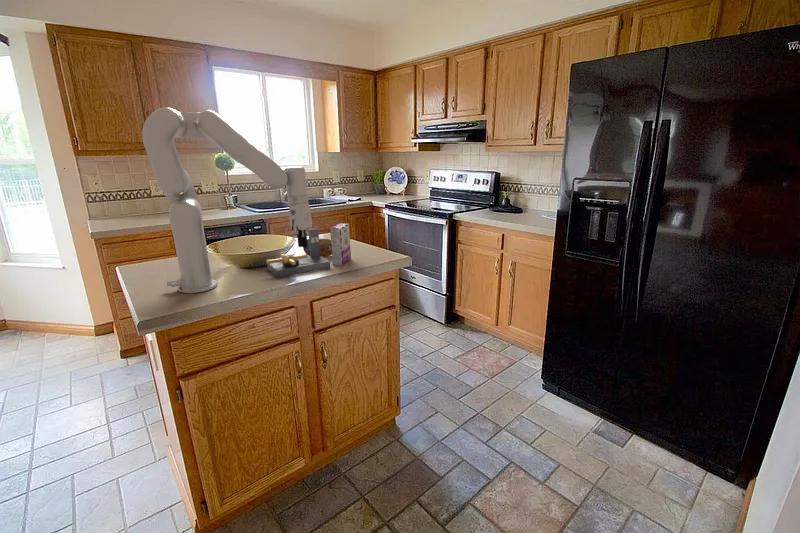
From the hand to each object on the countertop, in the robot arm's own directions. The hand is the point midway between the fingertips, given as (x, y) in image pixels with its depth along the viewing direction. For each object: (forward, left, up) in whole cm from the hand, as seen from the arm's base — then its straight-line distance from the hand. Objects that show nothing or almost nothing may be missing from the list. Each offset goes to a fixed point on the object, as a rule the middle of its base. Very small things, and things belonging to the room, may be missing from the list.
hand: (303, 246), depth 149 cm
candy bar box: (+19, +6, -11) cm, 23 cm away
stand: (0, +7, -11) cm, 13 cm away
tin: (+15, +22, -11) cm, 29 cm away
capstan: (-5, +5, -8) cm, 10 cm away
